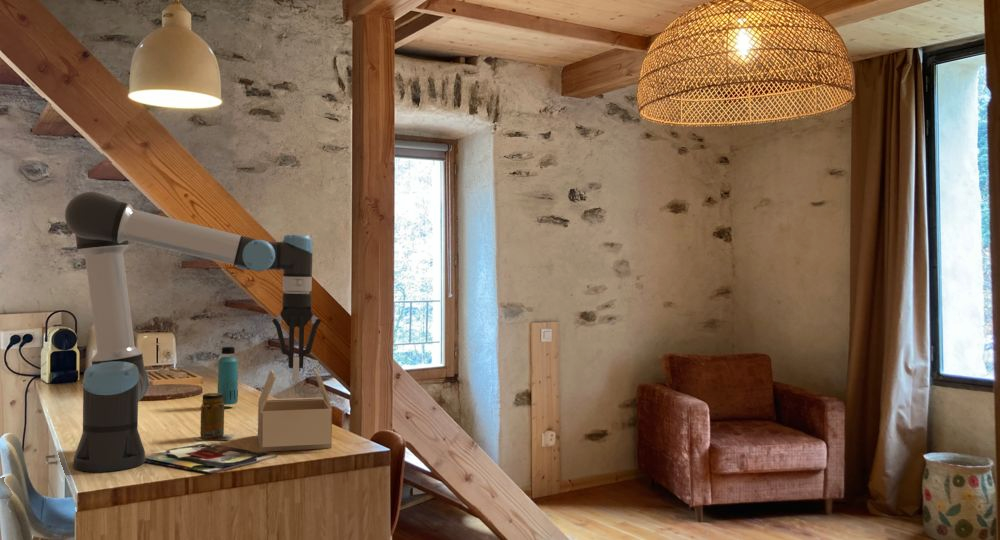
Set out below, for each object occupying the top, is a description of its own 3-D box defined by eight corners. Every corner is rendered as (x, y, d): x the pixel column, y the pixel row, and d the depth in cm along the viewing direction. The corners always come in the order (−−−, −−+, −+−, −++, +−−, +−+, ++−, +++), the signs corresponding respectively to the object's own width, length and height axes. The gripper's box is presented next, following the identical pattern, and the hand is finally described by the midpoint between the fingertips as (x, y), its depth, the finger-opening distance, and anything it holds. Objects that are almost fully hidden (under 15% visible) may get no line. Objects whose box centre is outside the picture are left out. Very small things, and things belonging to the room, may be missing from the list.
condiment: (202, 435, 217) (203, 392, 217) (234, 435, 218) (235, 392, 218) (195, 441, 210) (196, 396, 209) (227, 441, 210) (228, 396, 210)
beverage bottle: (229, 410, 253) (230, 348, 253) (212, 408, 255) (213, 347, 255) (242, 406, 259) (243, 346, 259) (225, 405, 261) (226, 345, 261)
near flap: (262, 411, 199) (262, 447, 196) (262, 411, 199) (262, 447, 196) (330, 408, 205) (331, 443, 202) (330, 408, 204) (331, 443, 202)
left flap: (260, 410, 200) (273, 377, 201) (258, 400, 214) (270, 369, 215) (262, 411, 200) (275, 377, 201) (260, 400, 214) (272, 369, 215)
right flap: (330, 408, 205) (318, 376, 204) (323, 398, 220) (313, 368, 218) (331, 407, 206) (320, 375, 204) (325, 398, 220) (314, 368, 219)
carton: (259, 451, 199) (260, 412, 199) (257, 438, 214) (258, 401, 214) (331, 448, 205) (332, 410, 205) (324, 434, 220) (325, 399, 220)
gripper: (272, 292, 204) (270, 383, 204) (323, 293, 208) (321, 381, 208) (271, 291, 211) (269, 379, 211) (320, 292, 215) (318, 377, 215)
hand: (295, 380), depth 210 cm, fingers closed
